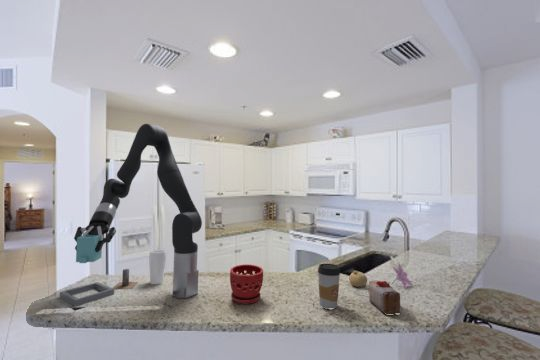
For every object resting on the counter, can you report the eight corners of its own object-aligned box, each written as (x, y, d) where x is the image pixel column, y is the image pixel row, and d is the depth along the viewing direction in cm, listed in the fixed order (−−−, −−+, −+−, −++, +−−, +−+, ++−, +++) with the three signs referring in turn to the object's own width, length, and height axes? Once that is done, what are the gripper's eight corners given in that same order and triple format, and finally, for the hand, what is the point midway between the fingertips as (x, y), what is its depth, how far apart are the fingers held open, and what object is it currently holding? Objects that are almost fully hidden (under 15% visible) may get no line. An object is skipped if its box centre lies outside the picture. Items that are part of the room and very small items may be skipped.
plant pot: (222, 299, 104) (223, 268, 104) (247, 290, 113) (248, 262, 114) (244, 310, 95) (245, 276, 95) (269, 299, 104) (270, 269, 105)
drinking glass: (158, 289, 112) (160, 253, 113) (144, 287, 114) (146, 252, 114) (167, 283, 119) (169, 250, 120) (154, 282, 120) (155, 249, 121)
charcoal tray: (113, 298, 102) (114, 288, 102) (75, 310, 91) (75, 300, 91) (97, 290, 109) (97, 282, 109) (59, 301, 98) (59, 291, 98)
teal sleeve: (101, 257, 104) (102, 234, 105) (91, 263, 97) (92, 238, 97) (84, 257, 103) (86, 234, 104) (73, 263, 96) (74, 238, 96)
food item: (365, 300, 106) (365, 275, 107) (384, 299, 107) (384, 275, 107) (383, 316, 93) (383, 288, 93) (404, 316, 93) (404, 287, 94)
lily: (391, 292, 118) (403, 276, 115) (378, 274, 128) (388, 258, 126) (412, 298, 121) (424, 282, 118) (397, 280, 132) (407, 265, 129)
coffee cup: (326, 313, 94) (327, 270, 95) (312, 303, 101) (313, 264, 102) (344, 308, 98) (345, 267, 98) (329, 300, 105) (330, 262, 106)
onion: (352, 281, 128) (352, 266, 128) (369, 285, 123) (369, 270, 123) (346, 286, 121) (346, 270, 121) (364, 290, 117) (364, 274, 117)
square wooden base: (138, 285, 116) (139, 266, 116) (131, 292, 108) (132, 272, 108) (119, 285, 115) (119, 267, 115) (110, 293, 107) (111, 273, 107)
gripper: (82, 210, 108) (61, 245, 96) (119, 210, 110) (104, 245, 98) (88, 221, 113) (70, 256, 101) (124, 221, 115) (110, 256, 103)
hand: (87, 250), depth 99 cm, fingers closed on teal sleeve, 6 cm apart
